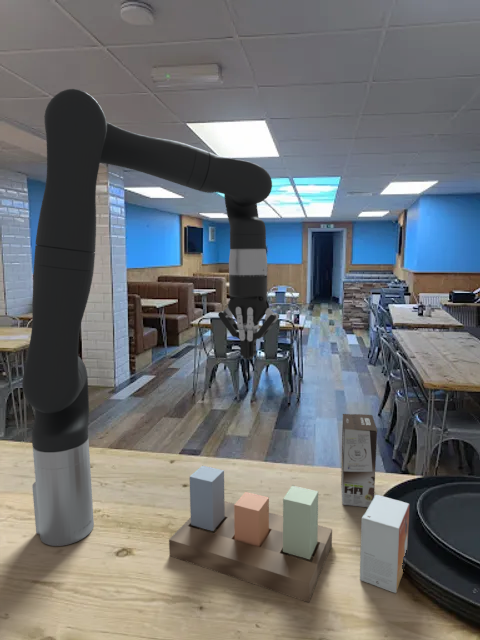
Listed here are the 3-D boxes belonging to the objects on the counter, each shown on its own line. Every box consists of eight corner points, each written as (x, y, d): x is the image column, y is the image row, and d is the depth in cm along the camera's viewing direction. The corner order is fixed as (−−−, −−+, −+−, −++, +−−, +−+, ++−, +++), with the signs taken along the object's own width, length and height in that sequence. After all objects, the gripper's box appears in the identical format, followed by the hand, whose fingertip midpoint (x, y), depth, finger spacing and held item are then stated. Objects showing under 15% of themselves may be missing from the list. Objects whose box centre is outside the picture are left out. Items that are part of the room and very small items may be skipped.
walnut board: (169, 555, 73) (169, 539, 73) (210, 511, 86) (209, 497, 85) (308, 602, 63) (309, 583, 63) (331, 544, 76) (332, 528, 75)
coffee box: (375, 508, 86) (378, 430, 84) (341, 505, 88) (343, 428, 85) (370, 485, 95) (373, 414, 93) (340, 482, 96) (342, 412, 94)
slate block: (190, 524, 76) (189, 476, 75) (203, 511, 80) (202, 465, 79) (212, 531, 75) (212, 481, 73) (224, 517, 79) (223, 470, 77)
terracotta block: (234, 554, 73) (234, 504, 72) (245, 539, 77) (245, 491, 76) (259, 562, 72) (258, 511, 70) (268, 545, 75) (268, 497, 74)
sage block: (282, 551, 69) (283, 498, 68) (291, 535, 73) (292, 485, 72) (309, 559, 68) (310, 505, 66) (317, 542, 71) (318, 491, 70)
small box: (396, 595, 64) (399, 529, 63) (358, 580, 67) (360, 517, 66) (407, 563, 71) (410, 502, 70) (373, 551, 74) (375, 493, 72)
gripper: (209, 273, 86) (211, 359, 88) (272, 273, 80) (272, 365, 83) (226, 271, 92) (227, 351, 95) (286, 272, 87) (285, 357, 89)
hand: (248, 358), depth 89 cm, fingers closed
